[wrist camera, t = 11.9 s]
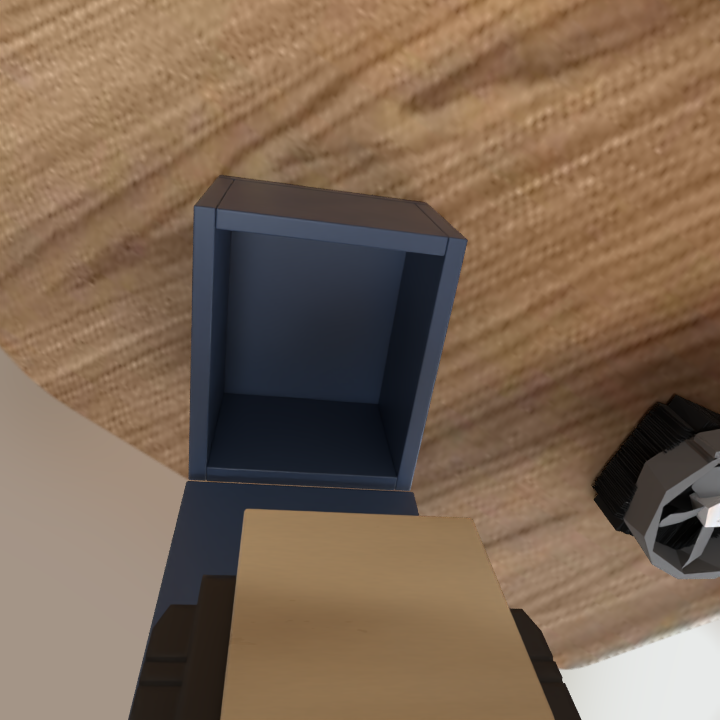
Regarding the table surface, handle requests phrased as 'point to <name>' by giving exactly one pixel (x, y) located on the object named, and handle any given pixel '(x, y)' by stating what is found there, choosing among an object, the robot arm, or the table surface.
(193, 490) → the lid
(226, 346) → the chest
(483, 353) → the table surface
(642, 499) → the cpu cooler
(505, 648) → the block
